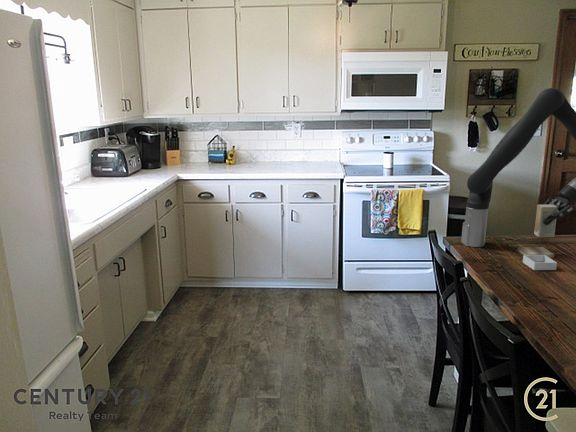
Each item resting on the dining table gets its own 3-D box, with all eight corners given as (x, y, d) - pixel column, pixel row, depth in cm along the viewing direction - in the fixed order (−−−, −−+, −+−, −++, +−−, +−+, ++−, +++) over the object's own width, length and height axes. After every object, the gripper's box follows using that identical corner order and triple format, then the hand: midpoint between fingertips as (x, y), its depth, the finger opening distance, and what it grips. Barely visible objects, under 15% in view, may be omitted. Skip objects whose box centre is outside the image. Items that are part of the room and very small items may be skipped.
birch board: (528, 257, 203) (528, 254, 202) (517, 250, 212) (517, 247, 211) (553, 257, 203) (554, 254, 203) (542, 250, 212) (542, 247, 212)
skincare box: (549, 234, 192) (554, 204, 189) (554, 237, 188) (559, 206, 185) (532, 233, 193) (536, 203, 190) (537, 237, 189) (541, 206, 185)
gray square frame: (533, 270, 189) (534, 262, 189) (522, 262, 198) (523, 255, 197) (556, 269, 190) (557, 262, 189) (543, 261, 198) (544, 255, 197)
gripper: (558, 180, 193) (524, 210, 195) (581, 188, 179) (545, 220, 181) (569, 193, 194) (535, 223, 197) (593, 202, 181) (557, 233, 183)
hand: (540, 221), depth 189 cm, fingers closed on skincare box, 4 cm apart
